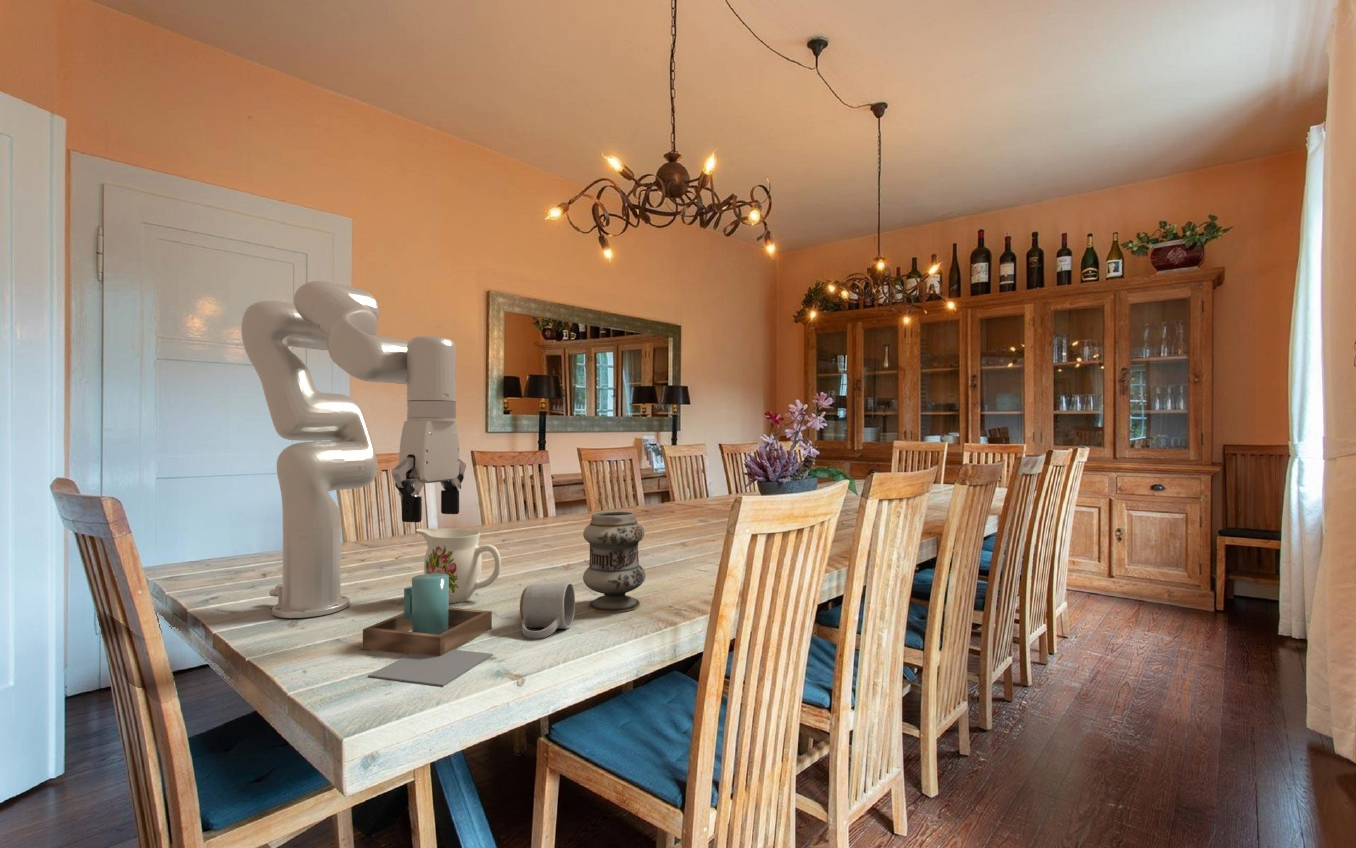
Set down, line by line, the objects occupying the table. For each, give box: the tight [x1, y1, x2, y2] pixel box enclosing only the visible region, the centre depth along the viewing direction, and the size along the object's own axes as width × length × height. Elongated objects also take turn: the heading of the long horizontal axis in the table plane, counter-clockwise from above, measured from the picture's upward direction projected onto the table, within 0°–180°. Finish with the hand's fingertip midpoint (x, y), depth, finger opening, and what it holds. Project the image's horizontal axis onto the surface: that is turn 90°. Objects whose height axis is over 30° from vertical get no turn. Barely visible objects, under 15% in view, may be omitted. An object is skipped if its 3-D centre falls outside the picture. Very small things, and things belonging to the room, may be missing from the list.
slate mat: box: [367, 649, 494, 687], centre depth 91 cm, size 12×12×1 cm
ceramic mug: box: [519, 581, 576, 639], centre depth 108 cm, size 11×8×8 cm
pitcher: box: [415, 528, 502, 604], centre depth 127 cm, size 11×18×14 cm, turn 82°
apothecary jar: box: [582, 510, 646, 614], centre depth 122 cm, size 12×12×18 cm
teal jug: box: [403, 573, 450, 635], centre depth 103 cm, size 7×6×10 cm
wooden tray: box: [362, 607, 493, 656], centre depth 103 cm, size 14×14×3 cm
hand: (431, 517), depth 103 cm, fingers open, 9 cm apart
